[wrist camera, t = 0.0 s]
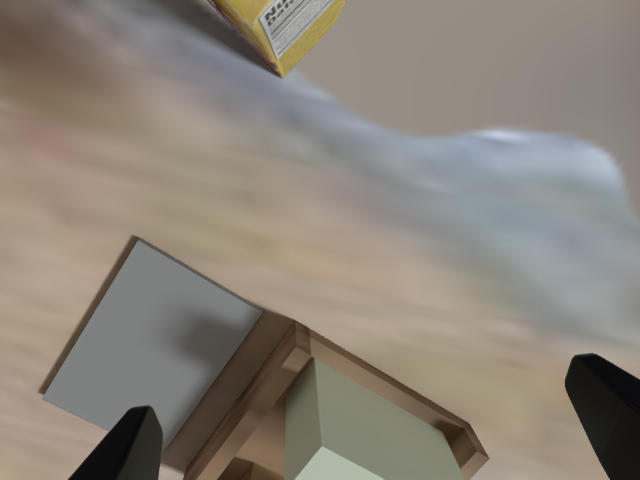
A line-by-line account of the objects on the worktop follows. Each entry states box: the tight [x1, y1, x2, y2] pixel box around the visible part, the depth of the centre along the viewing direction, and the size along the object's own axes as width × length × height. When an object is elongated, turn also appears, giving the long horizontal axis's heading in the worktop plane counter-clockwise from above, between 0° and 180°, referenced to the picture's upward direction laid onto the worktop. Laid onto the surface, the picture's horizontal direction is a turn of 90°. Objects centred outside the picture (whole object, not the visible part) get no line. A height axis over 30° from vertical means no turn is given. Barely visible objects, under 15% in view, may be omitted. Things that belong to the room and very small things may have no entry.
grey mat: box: [42, 238, 263, 455], centre depth 25 cm, size 12×8×1 cm, turn 145°
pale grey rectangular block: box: [284, 358, 465, 480], centre depth 23 cm, size 3×10×7 cm, turn 55°
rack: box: [183, 321, 489, 480], centre depth 27 cm, size 13×14×3 cm
